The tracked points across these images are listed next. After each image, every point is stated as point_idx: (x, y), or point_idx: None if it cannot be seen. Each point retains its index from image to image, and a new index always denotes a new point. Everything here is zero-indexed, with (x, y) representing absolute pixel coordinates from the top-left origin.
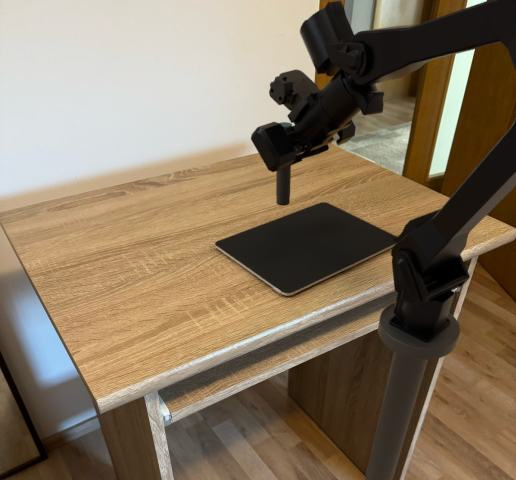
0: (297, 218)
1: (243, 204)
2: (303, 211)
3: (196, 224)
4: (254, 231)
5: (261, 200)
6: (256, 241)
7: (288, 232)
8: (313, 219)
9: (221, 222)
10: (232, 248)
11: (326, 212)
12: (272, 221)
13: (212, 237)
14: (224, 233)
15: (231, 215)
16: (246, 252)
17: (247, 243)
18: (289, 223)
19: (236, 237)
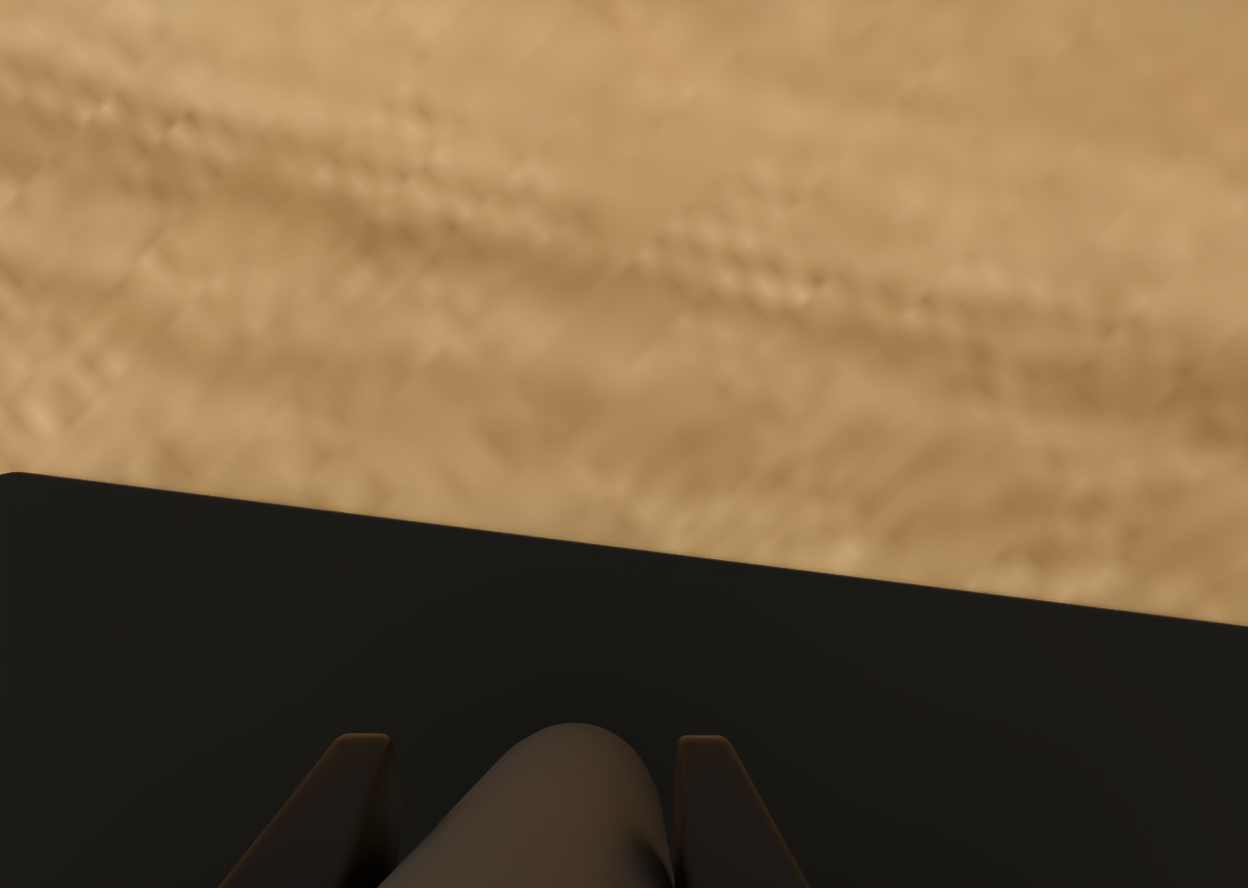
0: (872, 701)
1: (759, 73)
2: (1029, 640)
3: (193, 61)
4: (377, 586)
5: (942, 133)
6: (249, 739)
7: None
8: (972, 838)
9: (367, 188)
10: (5, 673)
11: (1189, 831)
12: (647, 567)
13: (117, 335)
14: (238, 358)
15: (524, 154)
16: (36, 821)
17: (165, 704)
18: (736, 717)
19: (180, 548)
